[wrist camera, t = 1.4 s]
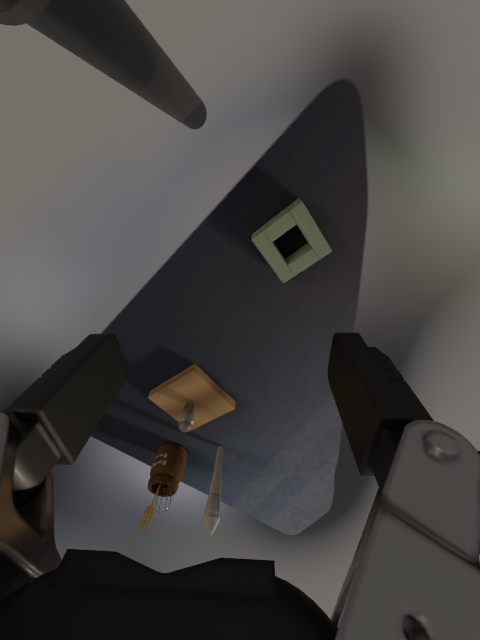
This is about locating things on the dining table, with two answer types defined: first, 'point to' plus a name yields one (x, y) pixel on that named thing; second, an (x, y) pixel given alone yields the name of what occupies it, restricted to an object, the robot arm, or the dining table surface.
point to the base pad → (192, 398)
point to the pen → (214, 497)
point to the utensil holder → (165, 475)
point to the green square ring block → (302, 256)
